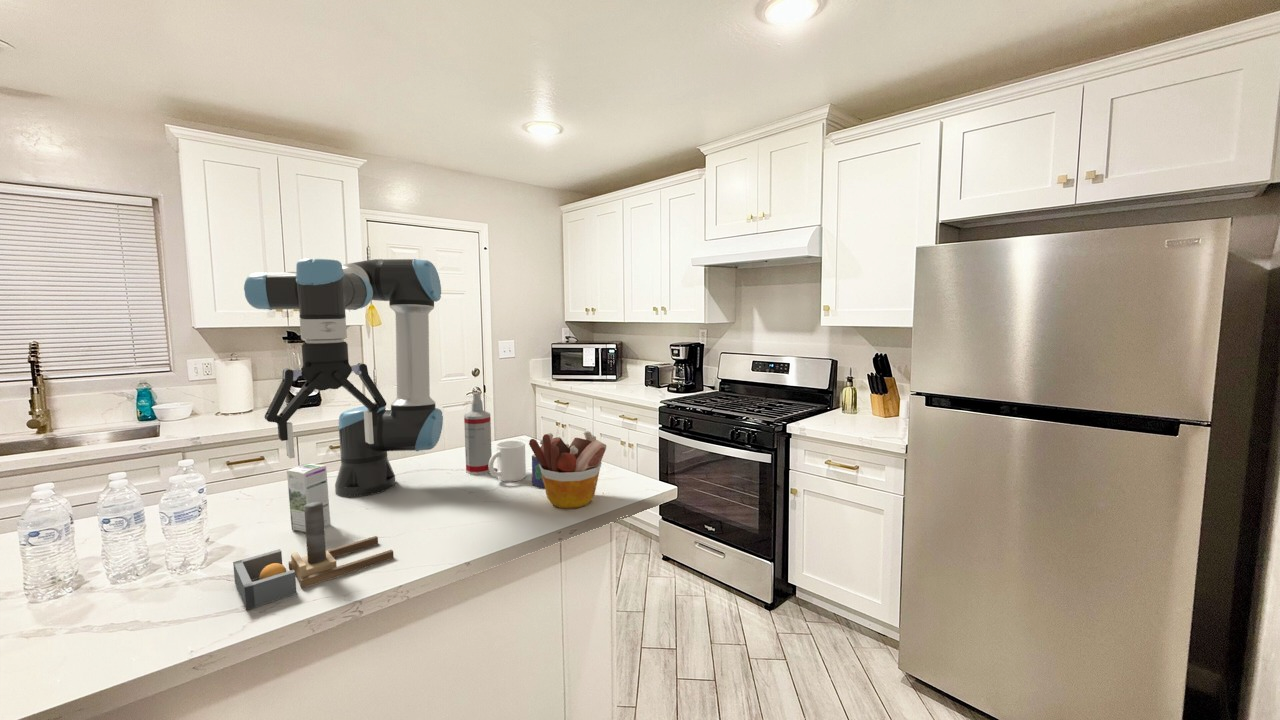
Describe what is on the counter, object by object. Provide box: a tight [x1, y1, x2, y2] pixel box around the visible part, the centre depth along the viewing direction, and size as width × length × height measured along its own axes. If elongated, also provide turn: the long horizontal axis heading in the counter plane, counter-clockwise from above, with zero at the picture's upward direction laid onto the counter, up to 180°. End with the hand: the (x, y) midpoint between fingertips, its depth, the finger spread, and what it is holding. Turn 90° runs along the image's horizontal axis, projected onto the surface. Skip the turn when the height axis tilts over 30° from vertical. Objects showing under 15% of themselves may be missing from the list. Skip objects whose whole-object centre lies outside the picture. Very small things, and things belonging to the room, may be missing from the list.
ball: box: [259, 563, 287, 580], centre depth 93 cm, size 4×4×4 cm
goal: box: [232, 548, 297, 611], centre depth 92 cm, size 12×7×4 cm, turn 45°
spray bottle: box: [463, 392, 493, 476], centre depth 159 cm, size 8×8×25 cm
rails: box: [288, 535, 395, 589], centre depth 102 cm, size 10×16×2 cm, turn 135°
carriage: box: [290, 502, 338, 582], centre depth 98 cm, size 7×6×13 cm
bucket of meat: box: [528, 431, 607, 510], centre depth 133 cm, size 20×16×20 cm
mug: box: [489, 440, 527, 483], centre depth 152 cm, size 12×8×10 cm
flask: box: [531, 453, 545, 490], centre depth 145 cm, size 9×3×11 cm, turn 61°
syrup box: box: [286, 463, 331, 534], centre depth 118 cm, size 6×6×14 cm
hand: (332, 449), depth 100 cm, fingers open, 13 cm apart
